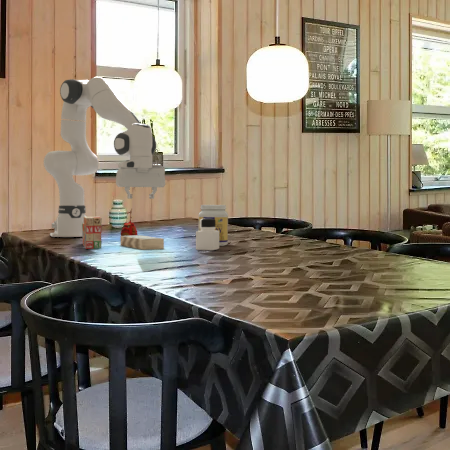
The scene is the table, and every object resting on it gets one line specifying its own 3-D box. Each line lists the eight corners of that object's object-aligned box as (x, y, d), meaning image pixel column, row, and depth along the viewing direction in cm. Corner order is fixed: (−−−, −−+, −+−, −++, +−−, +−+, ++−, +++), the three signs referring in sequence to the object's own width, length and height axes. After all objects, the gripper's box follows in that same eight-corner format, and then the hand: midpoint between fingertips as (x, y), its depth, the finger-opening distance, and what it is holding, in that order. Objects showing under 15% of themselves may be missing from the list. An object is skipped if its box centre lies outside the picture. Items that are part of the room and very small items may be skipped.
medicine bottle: (219, 249, 254) (219, 218, 253) (213, 250, 247) (213, 218, 246) (202, 248, 256) (202, 217, 255) (195, 249, 249) (195, 218, 249)
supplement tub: (201, 247, 261) (201, 205, 261) (196, 245, 273) (196, 204, 273) (230, 246, 264) (230, 205, 263) (224, 244, 276) (224, 204, 275)
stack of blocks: (82, 244, 275) (81, 215, 275) (97, 244, 277) (96, 215, 276) (85, 248, 255) (85, 217, 254) (101, 248, 257) (101, 217, 256)
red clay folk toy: (117, 243, 282) (117, 208, 282) (125, 242, 289) (125, 208, 288) (132, 243, 280) (132, 208, 279) (141, 242, 286) (140, 208, 285)
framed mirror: (120, 245, 270) (120, 235, 270) (140, 244, 275) (140, 235, 274) (142, 249, 250) (142, 239, 250) (163, 248, 255) (163, 238, 255)
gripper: (161, 164, 269) (161, 198, 270) (114, 163, 259) (114, 198, 259) (168, 164, 263) (167, 198, 264) (120, 163, 253) (120, 198, 254)
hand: (140, 198), depth 262 cm, fingers open, 8 cm apart
